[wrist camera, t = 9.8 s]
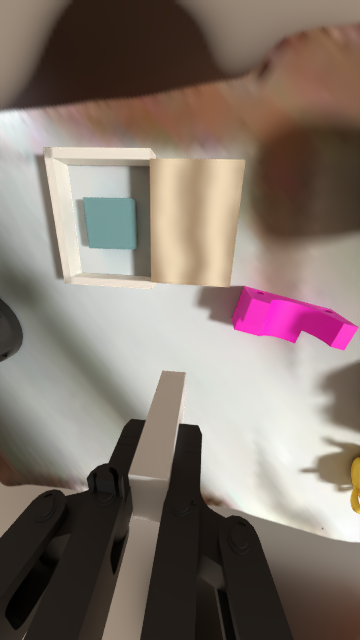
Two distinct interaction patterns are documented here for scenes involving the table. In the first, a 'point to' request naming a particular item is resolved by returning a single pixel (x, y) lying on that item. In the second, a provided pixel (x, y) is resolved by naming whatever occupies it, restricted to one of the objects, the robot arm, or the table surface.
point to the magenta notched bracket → (289, 319)
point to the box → (64, 212)
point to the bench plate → (194, 219)
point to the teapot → (355, 485)
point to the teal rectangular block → (111, 223)
